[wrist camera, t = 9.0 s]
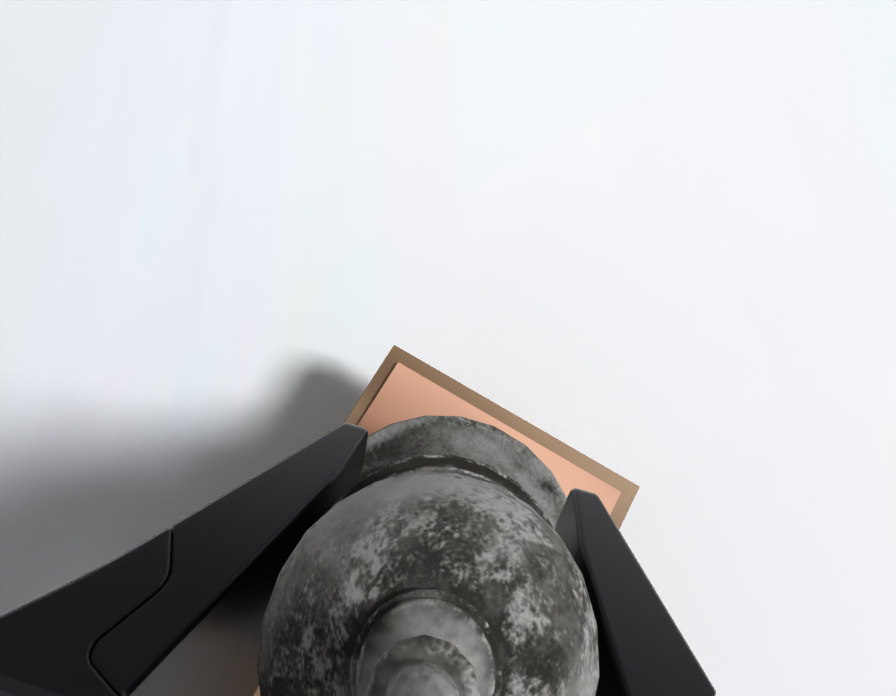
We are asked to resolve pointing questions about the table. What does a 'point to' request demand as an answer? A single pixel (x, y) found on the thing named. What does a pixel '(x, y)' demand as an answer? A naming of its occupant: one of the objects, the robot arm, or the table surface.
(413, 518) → the grey rounded piece
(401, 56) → the table surface
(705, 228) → the table surface
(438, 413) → the beam
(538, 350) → the table surface
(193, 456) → the table surface
